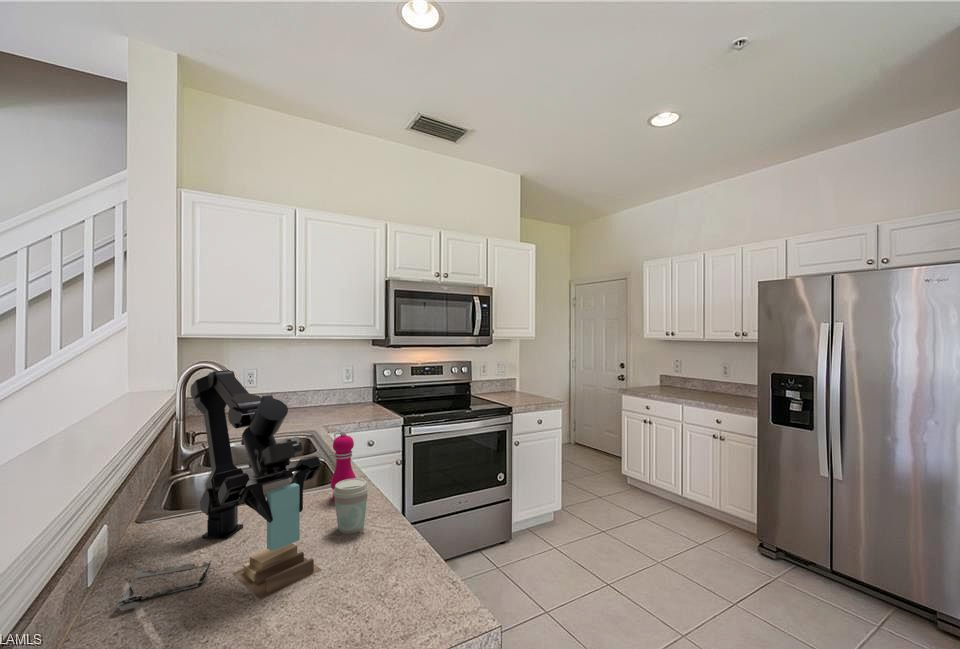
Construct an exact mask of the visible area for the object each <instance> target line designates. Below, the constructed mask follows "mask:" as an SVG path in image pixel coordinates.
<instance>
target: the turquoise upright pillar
mask: <svg viewBox="0 0 960 649" xmlns="http://www.w3.org/2000/svg"><path fill="white" fill-rule="evenodd" d="M266 501H267V503H268V506H269V508H270V510H271V513H272V517H273V521H272V522H271V523H269V522H268V521H267V520H266V549H269V550H270V551H274V550H276V549H279V548H281V547H284V546H286V545H289V544H291V543H292V544H294V543H296V542H298V541H300V512H299V485H298V484H296V483H293V484H290V483H289V484H287V485H283V486H280V487H276V488H273V489H269V490H266Z"/></svg>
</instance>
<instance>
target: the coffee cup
mask: <svg viewBox="0 0 960 649" xmlns="http://www.w3.org/2000/svg"><path fill="white" fill-rule="evenodd" d="M369 487H370V486H369V485H368V482H367V480H366V479H363V478H355V479H347V480H343V481H340V482H338V483H337V484H336V485H335V488H334V490H333V489H332V490H333V492H332V497H333V496H334V498H335V501H334V505H335V506H334V507H335V513H336V514H335V515H336V524H337V531H338V532H339V533H340V534H345V535H350V534H356V533H360V534H363V533H364V530H365V523H366V522H365V521H366V513H367V512H366V511H367V510H366V509H367V504H368V503H367V502H368V493H369V491H370V488H369Z"/></svg>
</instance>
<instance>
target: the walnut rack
mask: <svg viewBox="0 0 960 649" xmlns="http://www.w3.org/2000/svg"><path fill="white" fill-rule="evenodd" d="M322 571H323V569H322V568H320V567H319V566H317V564H315V559H314V558H312V557H311V558H309V559H307V558H306V557H305V553H304V551H300V552H297V554H295V555H293V556H290V557H288V558H286V559H283V560H281V561H279V562H276V563H274V564H272V565H269V566H267V567H264V568H262V569H260V570H257V571H256V581H255V582H253V581H252V580H251V579H250V578H249V577H248V576H247V575H246V574H245V573H244V568H242V569H240V570H237V571H235V572H232V575H233V576H235V578H236V579H237V580H239V582H240V583H242V584H243V585H244V586H245V587H246V588H247V589H248V590H249V591H250V592H251V593H252V594H253V595H254V596H255V597H256V598H257V599H258V600H260V601H261V600H263V599H265V598H266V597H269V596H271V595H273V594H275V593H278V592H280V591H283V589H286V588H288V587H290V586H291V585H294V584H296V583H298V582H301V581H303V580H305V579H307V578H308V577H311V576H313V575H315V574H317V573H320V572H322Z"/></svg>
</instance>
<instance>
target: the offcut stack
mask: <svg viewBox="0 0 960 649" xmlns="http://www.w3.org/2000/svg"><path fill="white" fill-rule="evenodd" d="M297 553H298V545H297V544H294V543H291V544H289V545H286V546H284V547H281V548H279V549H276V550H274V551H270V550H269V549H267V548H266V549H263V550H261V551H259V552H257V553H254V554H253V555H250V556H249V562H246V563H244V564H243V569H244V573H245V574H246V575H247V576H248V577H249V578H250V579H251V580H252V581H253V582H255V581H256V571H257V570H260V569H262V568H264V567H267V566H269V565H272V564H274V563H276V562H279V561H281V560H283V559H286V558H288V557H290V556H293V555H295V554H297Z"/></svg>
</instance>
